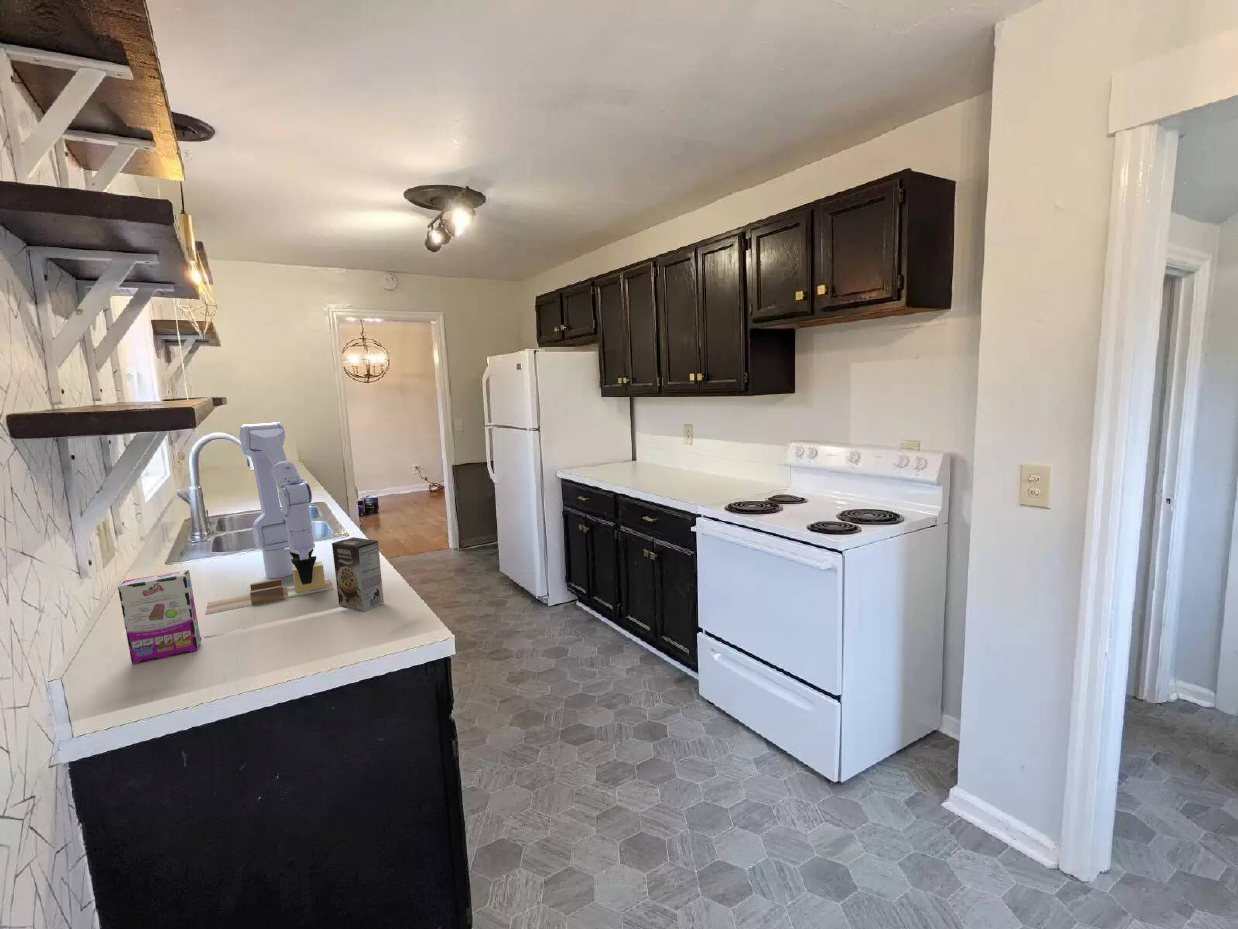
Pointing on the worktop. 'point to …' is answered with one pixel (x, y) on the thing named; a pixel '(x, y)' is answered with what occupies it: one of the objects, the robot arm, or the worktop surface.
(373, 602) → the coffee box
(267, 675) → the worktop surface
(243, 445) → the robot arm
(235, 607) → the pocket board
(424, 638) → the worktop surface
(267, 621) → the worktop surface
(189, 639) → the candy bar box
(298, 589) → the ochre block
